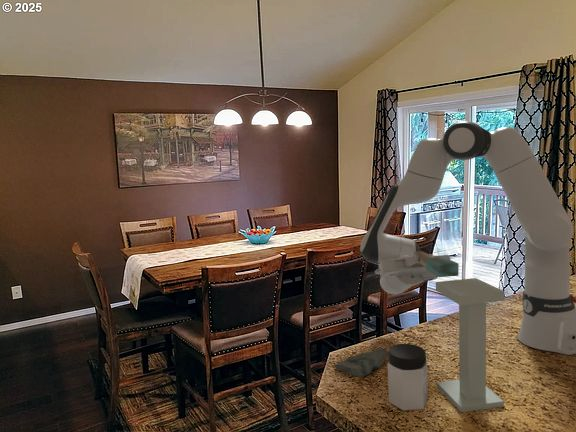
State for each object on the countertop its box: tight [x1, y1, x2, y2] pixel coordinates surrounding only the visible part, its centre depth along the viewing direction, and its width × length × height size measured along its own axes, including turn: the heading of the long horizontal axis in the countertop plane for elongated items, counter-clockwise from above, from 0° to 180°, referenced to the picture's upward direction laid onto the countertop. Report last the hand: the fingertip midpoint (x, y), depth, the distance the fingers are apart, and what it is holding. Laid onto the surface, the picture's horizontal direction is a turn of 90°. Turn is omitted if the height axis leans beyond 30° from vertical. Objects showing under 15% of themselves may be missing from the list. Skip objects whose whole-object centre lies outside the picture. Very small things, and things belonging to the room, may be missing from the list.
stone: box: [334, 347, 389, 379], centre depth 122 cm, size 17×3×10 cm
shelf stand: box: [435, 277, 506, 413], centre depth 101 cm, size 10×11×26 cm
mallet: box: [414, 250, 460, 278], centre depth 116 cm, size 5×18×3 cm, turn 8°
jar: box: [387, 343, 429, 411], centre depth 102 cm, size 9×8×12 cm
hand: (424, 257), depth 121 cm, fingers closed on mallet, 2 cm apart
